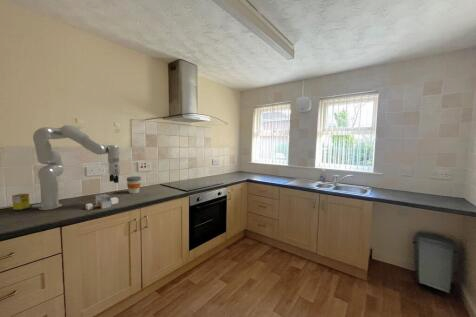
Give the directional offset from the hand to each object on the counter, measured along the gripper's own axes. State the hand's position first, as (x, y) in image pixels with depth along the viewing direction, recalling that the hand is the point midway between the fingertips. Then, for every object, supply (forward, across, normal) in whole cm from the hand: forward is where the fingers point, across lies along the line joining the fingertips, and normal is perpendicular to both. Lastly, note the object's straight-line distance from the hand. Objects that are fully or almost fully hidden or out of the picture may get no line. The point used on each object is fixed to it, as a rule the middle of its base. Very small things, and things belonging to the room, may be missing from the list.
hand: (114, 181), depth 159 cm
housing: (+18, 0, +8) cm, 20 cm away
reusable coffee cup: (+18, +26, -27) cm, 42 cm away
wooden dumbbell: (+18, +1, +8) cm, 20 cm away
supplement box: (+18, +34, +49) cm, 62 cm away
